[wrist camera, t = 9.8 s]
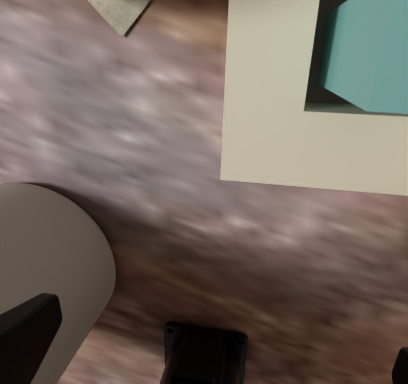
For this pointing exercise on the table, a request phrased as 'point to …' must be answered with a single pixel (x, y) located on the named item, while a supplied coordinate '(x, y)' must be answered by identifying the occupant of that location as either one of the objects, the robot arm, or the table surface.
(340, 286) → the table surface
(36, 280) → the cylinder vase
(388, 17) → the peg
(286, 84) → the socket block
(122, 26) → the condiment
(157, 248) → the table surface
